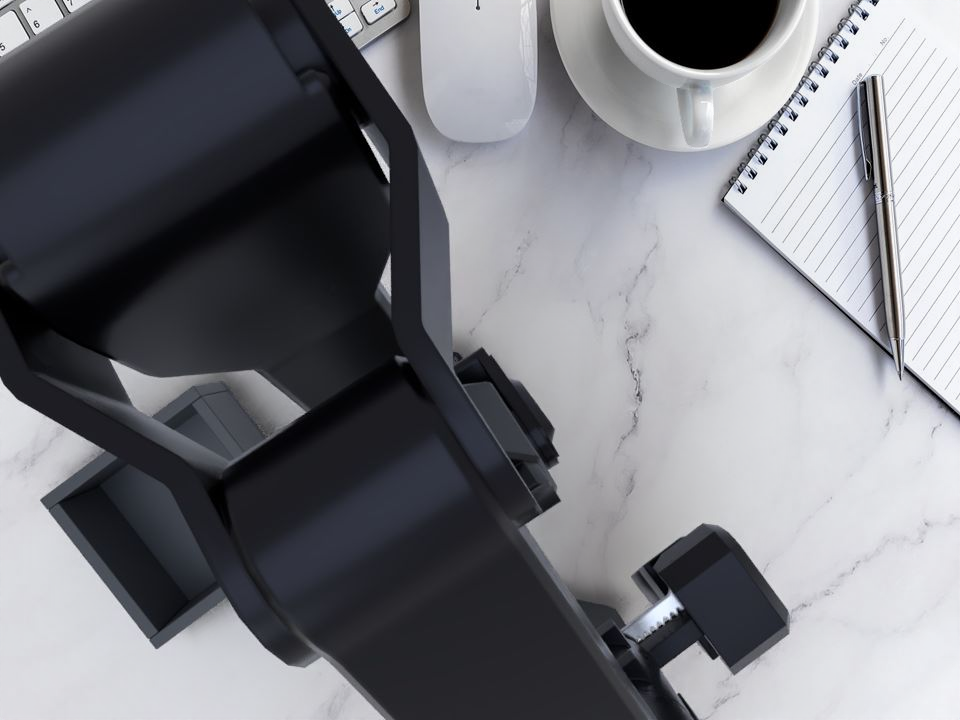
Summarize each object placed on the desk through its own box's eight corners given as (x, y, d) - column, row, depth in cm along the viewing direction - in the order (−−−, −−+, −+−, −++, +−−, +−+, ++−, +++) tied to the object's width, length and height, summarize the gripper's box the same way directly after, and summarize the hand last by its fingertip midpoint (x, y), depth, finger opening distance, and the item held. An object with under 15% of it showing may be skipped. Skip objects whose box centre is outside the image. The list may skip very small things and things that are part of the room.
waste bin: (222, 380, 51) (193, 385, 45) (324, 513, 51) (308, 536, 45) (86, 481, 51) (38, 500, 45) (189, 614, 51) (156, 650, 45)
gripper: (566, 1059, 34) (528, 835, 50) (936, 776, 35) (783, 641, 50) (400, 842, 34) (413, 684, 49) (776, 557, 34) (671, 490, 50)
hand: (574, 629), depth 50 cm, fingers open, 9 cm apart
